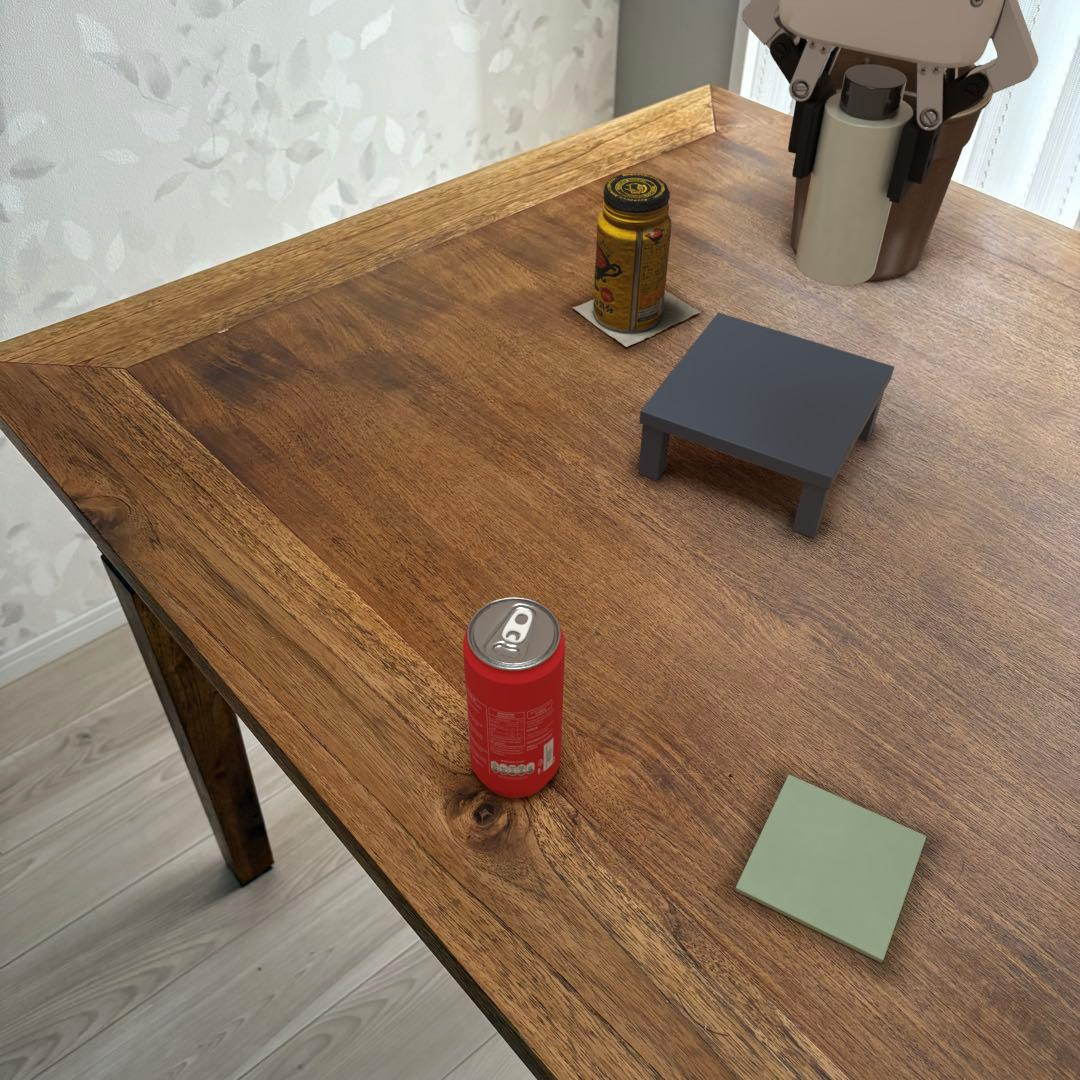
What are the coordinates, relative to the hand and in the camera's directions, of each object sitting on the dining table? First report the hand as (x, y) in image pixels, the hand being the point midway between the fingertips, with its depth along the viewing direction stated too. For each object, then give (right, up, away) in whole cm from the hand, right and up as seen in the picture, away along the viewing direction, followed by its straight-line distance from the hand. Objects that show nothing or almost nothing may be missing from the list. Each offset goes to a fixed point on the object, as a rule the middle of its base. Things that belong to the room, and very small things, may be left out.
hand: (854, 176), depth 59 cm
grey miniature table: (0, -13, +25) cm, 28 cm away
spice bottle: (0, -4, +4) cm, 5 cm away
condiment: (-8, 0, +38) cm, 39 cm away
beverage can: (-18, -32, +6) cm, 37 cm away
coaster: (-1, -37, +1) cm, 37 cm away
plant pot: (+13, +8, +46) cm, 49 cm away
